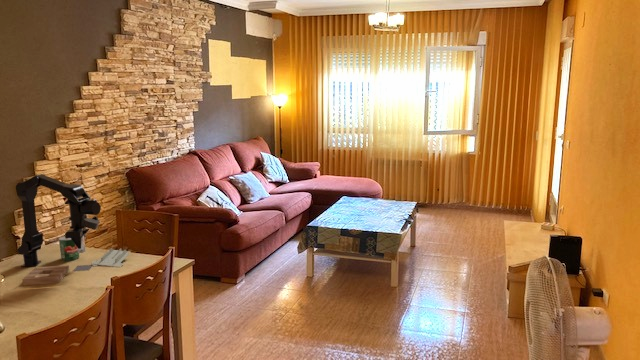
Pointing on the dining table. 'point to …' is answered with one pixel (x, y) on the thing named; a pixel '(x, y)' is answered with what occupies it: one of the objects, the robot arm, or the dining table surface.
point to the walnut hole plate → (46, 275)
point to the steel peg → (82, 246)
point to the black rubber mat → (83, 267)
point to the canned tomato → (68, 249)
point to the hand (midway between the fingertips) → (81, 247)
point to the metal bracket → (112, 258)
